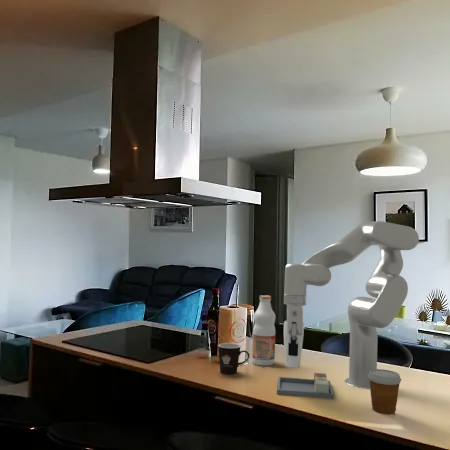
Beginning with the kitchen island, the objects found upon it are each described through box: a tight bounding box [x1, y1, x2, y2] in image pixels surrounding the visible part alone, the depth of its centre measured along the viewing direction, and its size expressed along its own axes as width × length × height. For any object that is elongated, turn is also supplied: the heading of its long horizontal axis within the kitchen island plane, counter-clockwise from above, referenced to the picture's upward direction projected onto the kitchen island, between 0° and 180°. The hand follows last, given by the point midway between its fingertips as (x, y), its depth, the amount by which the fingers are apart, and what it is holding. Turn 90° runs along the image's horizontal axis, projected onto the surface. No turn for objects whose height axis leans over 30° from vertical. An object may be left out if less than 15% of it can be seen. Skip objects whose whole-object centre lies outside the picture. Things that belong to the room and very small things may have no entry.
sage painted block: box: [315, 380, 329, 393], centre depth 145 cm, size 4×4×4 cm
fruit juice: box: [251, 295, 276, 367], centre depth 187 cm, size 9×9×28 cm
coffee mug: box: [217, 342, 250, 375], centre depth 171 cm, size 12×9×10 cm
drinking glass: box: [283, 320, 305, 369], centre depth 152 cm, size 7×7×15 cm
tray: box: [276, 376, 335, 400], centre depth 151 cm, size 18×15×2 cm
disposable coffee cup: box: [368, 368, 402, 416], centre depth 134 cm, size 10×10×12 cm
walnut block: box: [313, 372, 328, 388], centre depth 154 cm, size 4×4×4 cm
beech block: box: [315, 376, 329, 383], centre depth 150 cm, size 4×4×4 cm
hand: (292, 352), depth 152 cm, fingers closed on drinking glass, 6 cm apart
